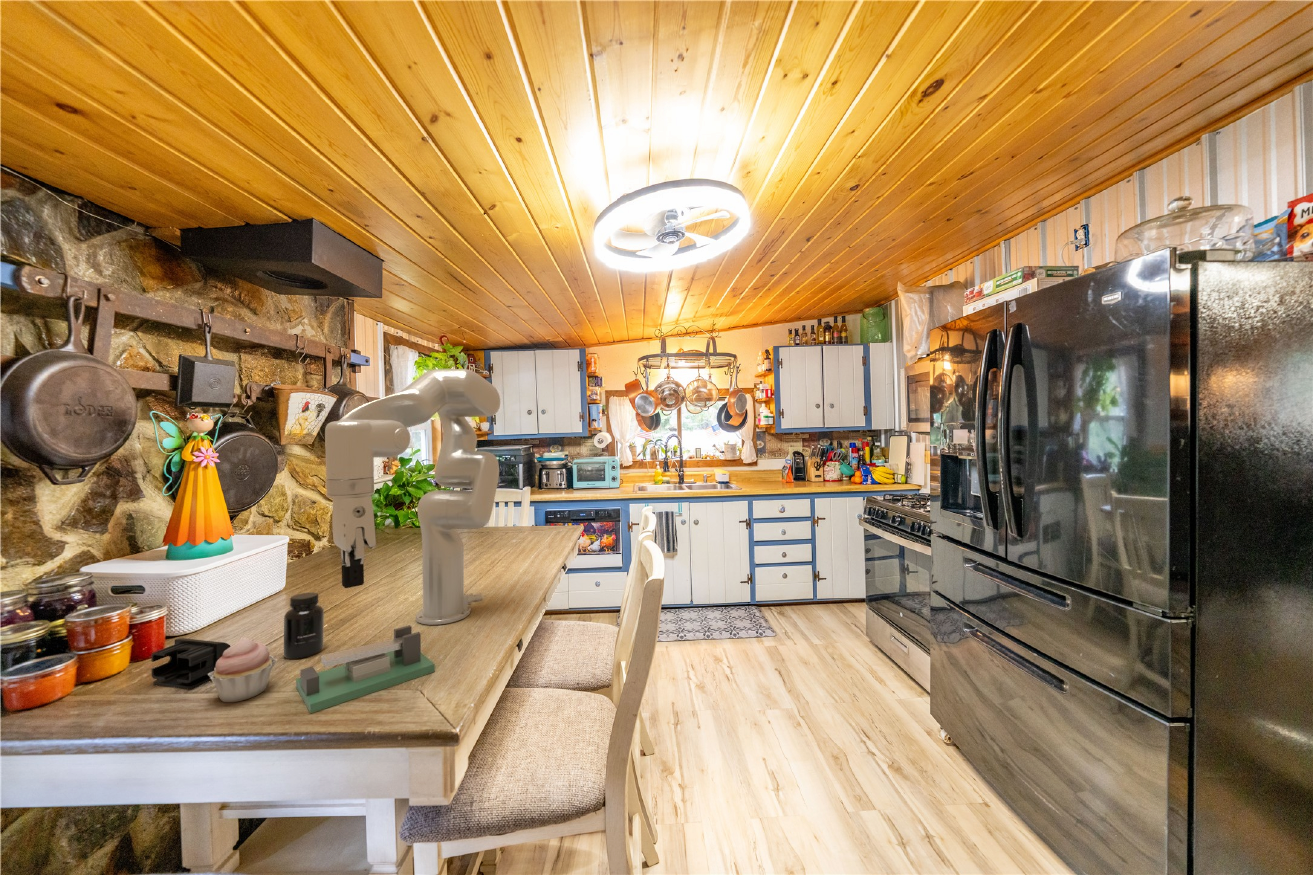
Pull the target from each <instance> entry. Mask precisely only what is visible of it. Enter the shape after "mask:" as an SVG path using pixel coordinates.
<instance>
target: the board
mask: <svg viewBox="0 0 1313 875" xmlns="http://www.w3.org/2000/svg"><path fill="white" fill-rule="evenodd" d="M412 630H413V628H412V625H405V626H401V627H398V628H394V629H393V639H394V638H399V637H402V649H399V650H395V651H391V652H387V653H383V654H379V655H375V656H371V657H367V658H363V659H359V660H355V661H351V662H347V663H344V664H342V665H340V666H335V667H333V668H329V669H325V670H322V671H318V672H317V671H316V669H315V668H314V666H312V665H311V666H309V667H305V668H302V669H300V677H297V678H295V688H296V690H297V691H298V693H299V695H300V697H301V699H302V700H303V704H305V706H306V708H307V710H308V712H309V714H313V713H316V712H320V711H322V710H326V709H328V708H331V707H334V706H337V705H340V704H343V703H346V702H349V701H352V700H355V699H358V698H361V697H364V696H367V695H370V694H373V693H376V692H379V691H382V690H385V689H387V688H390V687H394V686H397V685H399V684H402V683H405V682H409V681H412V680H415V679H416V678H417V679H418V678H420V677H423V676H426V675H429V674H432V673H435V672H436V664H435V663H434V662H433V661H432V660H431V659H430V658H428V657H427V656H426V655H425V654H423V653H422V652H421V648H422V647H421V643H422V642H421V637H422V636H421V634H422V633H421V632H420V631H417V632H412ZM404 635H405V636H404Z"/></svg>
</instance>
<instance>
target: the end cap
mask: <svg viewBox="0 0 1313 875" xmlns="http://www.w3.org/2000/svg"><path fill="white" fill-rule="evenodd" d="M231 646H232V645H230V644H229V643H227V642H223V641H212V640H211V641H210V640H206V639H205V640H203V639H194V638H184V637H183V638H182V637H181V638H177V639H174V644H173V645H169V646H167V647H164V648H162V649H159V650H156V651H154V652H152V653H151V655H150V656H151V662H152V663H153V662H157V661H160V660H163V659H164V658H168V657H169V660H168V661H167V662H166V663H162V664H160V665H158V666H155V667H153V668H151V670H150V671H151V678H152V679H154V681H153V682H152V683H153V686H156V685H157V686H159V687H166V688H173V689H180V690H181V689H182V690H188V691H189V690H194V689H196V688H199V687H201V686H203V685H205V684H207V683H210V682H211V681H212V680H211V678H210V677H209V675H208V674H209V673H211V672H213V671H215V670H214V668H216V662H217V661H218V659H220V658H221V657H222V655H223V652H224V651H225V650H227V649H228V648H230V647H231ZM212 682H213V681H212Z"/></svg>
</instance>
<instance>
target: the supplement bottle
mask: <svg viewBox="0 0 1313 875" xmlns="http://www.w3.org/2000/svg"><path fill="white" fill-rule="evenodd" d="M289 602H290V604H289V607H290V609H288V610H287V611H286V612H285V614H284V617H283V656H284V657H285V658H287V659H290V660H298V659H304V658H309V657H311V656H314V655H316V654H318V653H320V652H321V651H322V650H323V648H324V630H325V629H324V628H325V627H324V620H325V618H324V617H325V616H324V613H325V612H324V611H325V610H324V608H323V606H322V605H319V593H318V592H313V591H312V592H303V593H298V594H294V595H292V596H291V597H290V601H289Z"/></svg>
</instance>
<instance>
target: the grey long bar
mask: <svg viewBox="0 0 1313 875" xmlns="http://www.w3.org/2000/svg"><path fill="white" fill-rule="evenodd" d="M404 636H405V635H404ZM399 649H402V637H399V638H394V637H393V638H390V639H387V640H381V641H378V642H374V643H369V644H365V645H360V646H357V647H352V648H351V647H350V648H348V649H344V650H340V651H335V652H330V653H327V654H323V655H321V660H320V661H321V662H320V663H321V664H322V665H323V667H324V668H325V669H327V668H331V667H334V666H335V667H336V666H338V665H341V664H342V665H344V664H345V663H347V662H351V661H355V660H359V659H363V658H367V657H371V656H375V655H379V654H383V653H387V652H391V651H395V650H399Z"/></svg>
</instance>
